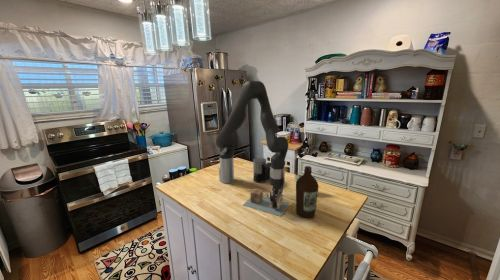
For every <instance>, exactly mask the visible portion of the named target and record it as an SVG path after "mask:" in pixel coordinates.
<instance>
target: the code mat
mask: <svg viewBox="0 0 500 280" xmlns="http://www.w3.org/2000/svg"><path fill="white" fill-rule="evenodd" d="M289 205H290V202H289V201H285V200H283V204H282V206H281V207H280V209H277V208H274V207H270V196H265V195H263V200H262V201H261V202H260V203H259V204H255V203H252V202H251V196H250V197H249V198H248V199H247V200H246V201H245V202H244V203H243V204H242V206H243V207H247V208H250V209H253V210H257V211H261V212H264V213H268V214H271V215H273V216H278V217H282V216H283V214H284V213H285V211H286V210H287V209H288V206H289Z"/></svg>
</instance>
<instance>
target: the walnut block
mask: <svg viewBox="0 0 500 280" xmlns="http://www.w3.org/2000/svg"><path fill="white" fill-rule="evenodd" d="M263 193H264V191H263V190H262V189H259V188H253V190H251V191H250V197H251V202H252V203H255V204H259V203H260V202H261V201H262V200H263V196H264V194H263Z"/></svg>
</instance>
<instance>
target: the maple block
mask: <svg viewBox="0 0 500 280" xmlns="http://www.w3.org/2000/svg"><path fill="white" fill-rule="evenodd" d="M276 196H277V195H276ZM275 198H276V197H275ZM283 198H284V194H283V193H282V194H279V197H278V198H277V207H276V208H277V209H280V207H281V206H282V204H283V201H284V199H283ZM270 207H272V202H271V201H270Z"/></svg>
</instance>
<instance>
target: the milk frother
mask: <svg viewBox="0 0 500 280" xmlns="http://www.w3.org/2000/svg"><path fill="white" fill-rule="evenodd" d="M252 164H253V168H252V169H253V170H252V171H253V178H252V180H253V182H255V183H264V182H266V181H270V168H271V165H270V164H269V163H267V159H266V158H264V157H256V158H253V159H252Z"/></svg>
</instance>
